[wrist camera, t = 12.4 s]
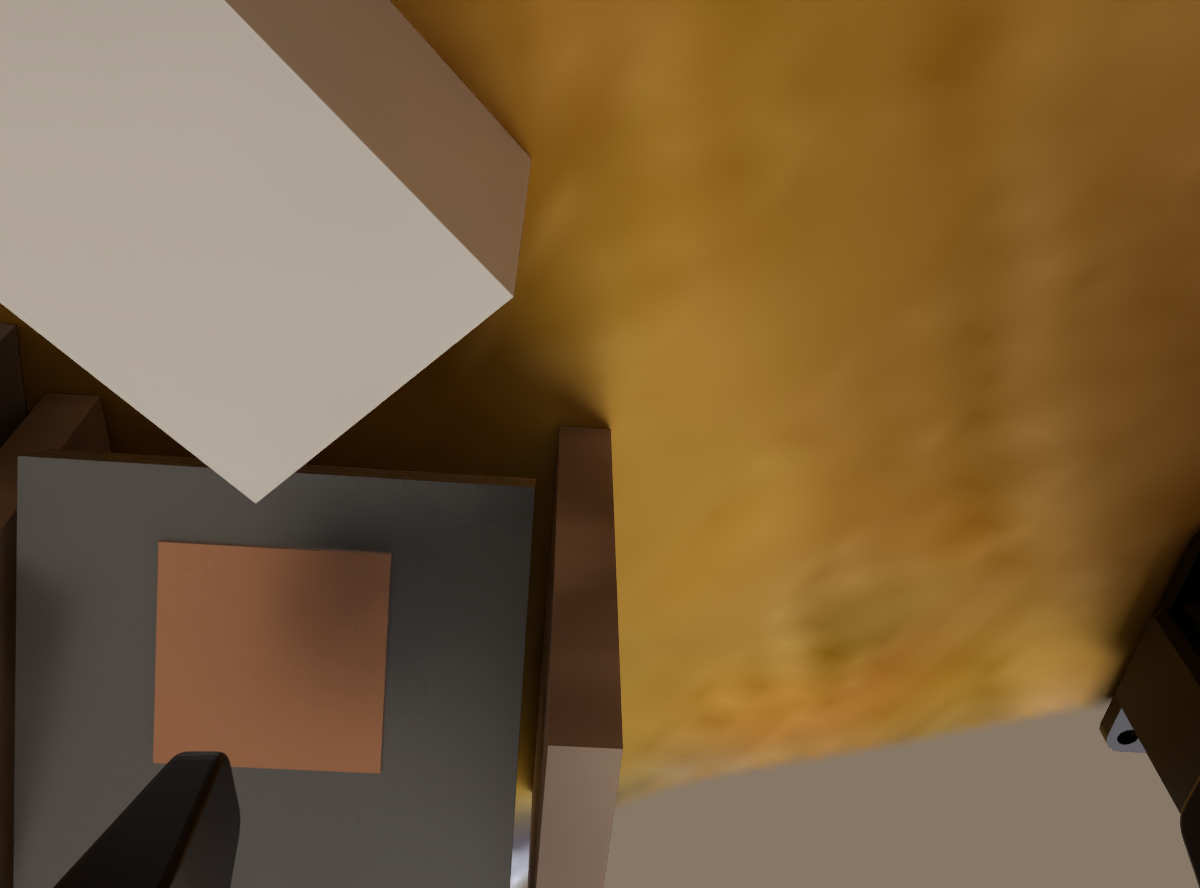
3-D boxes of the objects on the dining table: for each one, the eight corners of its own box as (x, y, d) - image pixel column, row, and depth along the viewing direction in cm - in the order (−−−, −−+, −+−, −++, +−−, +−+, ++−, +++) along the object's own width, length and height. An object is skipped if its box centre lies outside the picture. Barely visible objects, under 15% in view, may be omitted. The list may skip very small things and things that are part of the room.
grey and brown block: (538, 444, 23) (534, 488, 17) (503, 990, 24) (489, 1211, 18) (158, 421, 23) (14, 457, 16) (144, 978, 24) (6, 1200, 18)
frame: (641, 430, 21) (668, 757, 14) (595, 797, 27) (599, 1149, 20) (14, 390, 20) (-271, 713, 14) (109, 775, 26) (-55, 1131, 20)
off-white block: (531, 157, 18) (201, -213, 15) (513, 296, 14) (34, -194, 11) (332, 327, 20) (-1, 25, 17) (255, 503, 15) (-219, 131, 12)
